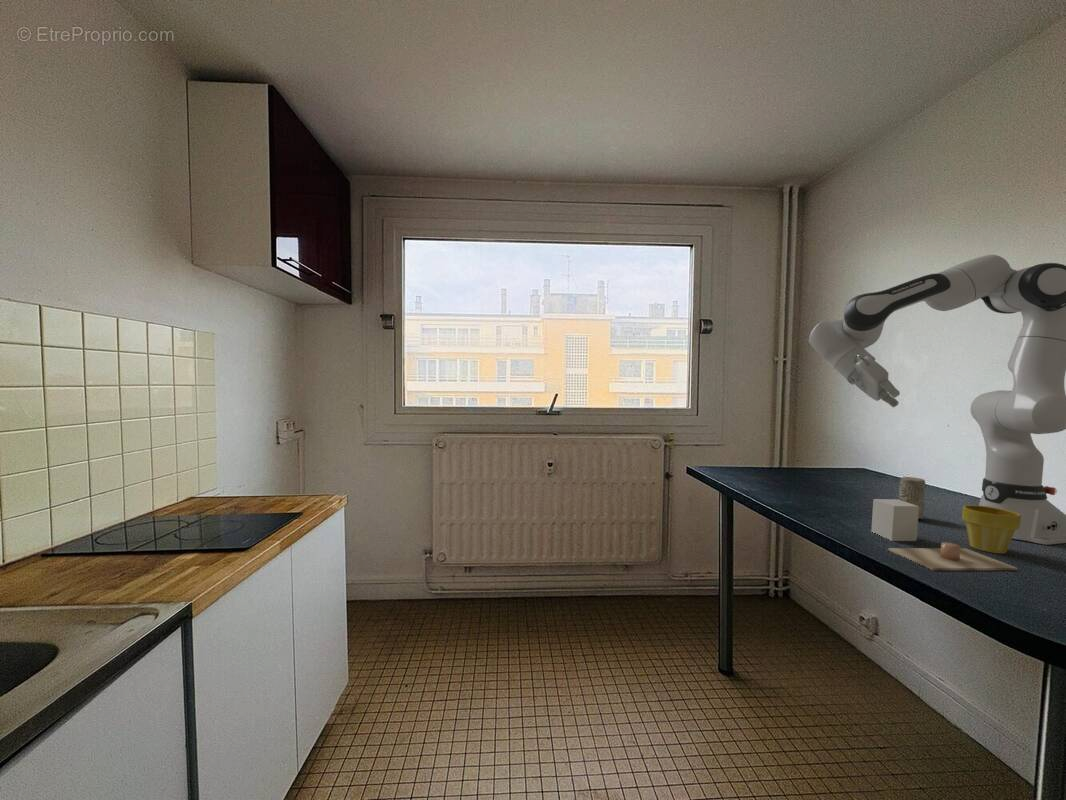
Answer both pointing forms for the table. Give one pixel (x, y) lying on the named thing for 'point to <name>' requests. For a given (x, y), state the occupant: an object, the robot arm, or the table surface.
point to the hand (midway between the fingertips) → (896, 400)
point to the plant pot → (990, 527)
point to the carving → (913, 492)
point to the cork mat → (936, 562)
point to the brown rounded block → (950, 551)
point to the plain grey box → (895, 519)
